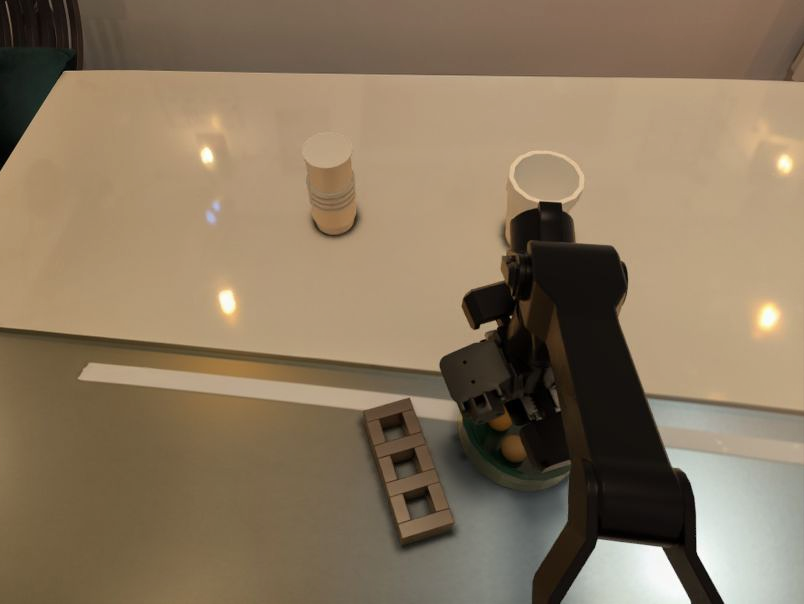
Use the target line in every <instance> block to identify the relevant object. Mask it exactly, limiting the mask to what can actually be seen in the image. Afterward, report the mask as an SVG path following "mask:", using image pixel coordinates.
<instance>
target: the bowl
mask: <svg viewBox="0 0 804 604" xmlns="http://www.w3.org/2000/svg"><path fill="white" fill-rule="evenodd" d="M503 405H504V404H503ZM525 426H526V425H525ZM522 427H524V426H516V425H514V424H513V423H512V425H511V426H510V427H509V428H508V429H507V430H504V431H497V430H495V429H493V428H492V427H491V426H490V425H489V424H488V422H486V423H484V424H480V425H477V424H475V423H474V422H473V420H472V418H471V417H469V418H465V419H463V418H462V415H461V413H460V410H459V412H458V415H457V429H458V430H457V431H458V437H459V440H460V443H461V445H462V447H463V450H464V453H465V455H466V457H467V458H468V459H469V461H470V462H471V463H472V464H473V465H474V467H475V468H476V469H477V470H478V472H480V473H481V474H483V475H484V476H485V477H486V478H487V479H489V480H491V481H492V482H494V483H495V484H497V485H500V486H503V487H506V488H508V489H512V490H513V491H523V492H525V491H526V492H538V491H542V490H545V489H548V488H550V487H554V486H557V485H558V484H559V483H561V482H562V481H563V480H564V479H565V478H567V477H569V473H570V468H571V464H569V465H566V466H563V467H560V468H556V469H553V470H550V471H547V472H544V473H540V472H538V471H536V470H535V469H533V467H532V465H531V463H530V460H529V458H528V456H526V458H525V459H524V460H523V461H521V462H517V463H515V462H511V461H509V460H507V459H506V458H505V457H504V456H503V454H502V452H501V444H502V441H503V440H504V439H505V438H506V437H508V436H510V435H517V436H520V433H519V431H520V429H521V428H522Z"/></svg>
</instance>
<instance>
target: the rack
mask: <svg viewBox="0 0 804 604" xmlns="http://www.w3.org/2000/svg"><path fill="white" fill-rule="evenodd" d="M362 416H363V423H364V428H365V430H366V433H367V437H368V440H369V441H368V442H369V443H370V446H371V450H372V451H371V452H372V453H373V457H374V461H375V463H376V467H377V470H378V473H379V477H380V479H381V483H382V486H383V490H384V493H385V497H386V499H387V502H388V506H389V509H390V513H391V516H392V519H393V522H394V523H393V524H394V526H395V529H396V531H397V535H398V540H399V542H400V545H401V546H405V545H408V544H412V543H414V542H418V541H422V540H424V539H428V538H430V537H435V536H437V535H440V534H443V533H447V532H449V531H452V530H453V527H454V525H455V519H454V516H453V514H452V511H451V508H450V505H449V502H448V500H447V497H446V495H445V491H444V489H443V485H442V483H441V480H440V477H439V475H438V472H437V469H436V467H435V464H434V461H433V458H432V455H431V453H430V449H429V446H428V444H427V441H426V439H425V436H424V433H423V429H422V427H421V424H420V422H419V419H418V417H417V414H416V410H415V408H414V405H413V402H412V400H411V397H406V398H402V399H399V400H396V401H392V402H390V403H389V402H388V403H385V404H382V405H378V406H375V407H372V408H368V409H365V410H363V411H362ZM399 425H401V427H402V430H403V433H404V436H403V437H399V438H396V439H392V440H389V441H387V440H386V437H385V434H384V431H383V430H385V429H388V428H392V427H395V426H399ZM411 459H412V460H413V463H414V466H415V468H416V472H417V473H415V474H412V475H409V476H406V477H402V478H398V475H397V472H396V468H395V466H394V464H397V463H401V462H404V461H407V460H411ZM423 496H425V498H426V501H427V504H428V507H429V510H430V512H431V513H429V514H426V515H423V516H420V517H416V518H413V519H412V518H411V515H410V511H409V509H408V505H407V503H406V502H407V501H409V500H412V499H416V498H420V497H423Z"/></svg>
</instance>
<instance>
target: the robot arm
mask: <svg viewBox="0 0 804 604" xmlns="http://www.w3.org/2000/svg"><path fill="white" fill-rule="evenodd" d="M574 221H575V220H574V218H573V217H572V216H571V214H568V213H566V212H564V211H562V203H561V202H547V201H539V203H538V206H537V208H534V209H530V210H526V211H524V212H522V213H520V214H518V215H517V216H515V217H514V218H513V219H511V221H510V245H509V249H507V250H506V252H505V253H506V254H505V255H501V259H500V260H501V262H500V272H501V274H502V277H503V279H504V280H501V281H496V282H493V283H489V284H486V285H482V286H479V287H475V288H471V289H470V290H468V291H467V292H466V293H465V294H464V296H463V298H462V301H461V309H462V312H463V315H464V316H465V318H466V321H467V323H468V325H469V328H471V329H472V330H473V331H476V330H480V328H481V325H484V324H488V323H492V322H495V323H496V325H497V327H496V329H493V330H492V329H491V330H488V331H485V333H484V339H481V340H479V342H478V341H477V342H473V343H471V344H468V345H466V346H463V347H461V348H459V349H457V350H455V351H452V352H450V353H448V354H445V355H444V356H442V357H441V359H440V360H439V364H438V367H439V370H440V372H441V375H442V377H443V379H444V380H443V381H444V383H445V385H446V388H447V390H448V393H449V396H450V397H451V399H452V401H454V402H455V403H456V406H457V407H458V410H459V411H460V413H461V415H462V418H463V419H465V418H469V417H471V418H472V420H473V422H474V423H475V424H477V425H480V424H484V423H486V422H489V421H491V420H493V419H496V418H498V417H501V416H503V415H504V414H505V410H504V408H503V404H504V405H505V407H506V410H507V412H508V414H509V416H510V419H511V421H512V423H513V424H514V425H516V426H524V427H522V428H521V429H520V431H519V433H520V438H521V442H522V445H523V447H524V449H525V451H526V454H527V456H528V458H529V460H530V463H531V465H532V467H533V469H535V470H536V471H538V472H540V473H544V472H547V471H550V470H553V469H556V468H560V467H563V466H566V465H569V464H571V468H570V473H569V475H568V486H567V521H566V522H565V525H564V526H563V528H562V530H561V531H560V533H559V534H558V536H557V538H556V539H555V541H554V542H553V544H552V546H551V547H550V549H549V550H548V552H547V554H546V555H545V556H544V558H543V559H542V561H541V563H540V565H539V566H538V568H537V569H536V570H535V572H534V575H533V579H532V581H531V604H562V602H563V600H564V599H565V598H566V595H568V592H569V591H570V588H571V587H572V586H573V585H574V582H575V581H576V580H577V578H578V576H579V575H580V573H581V572H582V570H583V568H584V567H585V565H586V563H587V562H588V560H589V558H590V557H591V556H592V554H593V552H594V551H595V549H596V547H597V543H598V540H602V541H610V542H618V543H626V544H633V545H641V546H648V547H649V546H650V547H656V548H657V547H658V548H661V549H662V551H663V553H664V555H665V556H666V558H667V560H668V562H669V564H670V566H671V568H672V570H673V571H674V574H675V575H676V576H677V579H678V580H679V583H680V584H681V587H682V588H683V590H684V591H685V593H686V596H687V597H688V599H689V602H690V604H726V603H725V602H724V600H723V598H722V596H721V595H720V594H721V593H720V592H719V591H718V589H717V587H716V585H715V583H714V581H713V580H712V578H711V576H710V575H709V572H708V571H707V569H706V567H705V565H704V563H703V562H702V560H701V558H700V556H699V555H698V549H697V548H698V546H697V545H698V544H697V543H698V542H697V509H696V498H695V493H694V490H693V487H692V486H693V485H692V484H691V481H690V479H689V477H688V475H687V474H686V472H685V471H683V470H682V469H681V468H680V467H673V466H672V464H671V461H670V458H669V455H668V453H667V450H666V447H665V444H664V441H663V439H662V436H661V433H660V430H659V428H658V425H657V422H656V419H655V417H654V414H653V411H652V408H651V405H650V403H649V400H648V397H647V394H646V392H645V388H644V386H643V383H642V380H641V378H640V375H639V372H638V369H637V366H636V364H635V361H634V359H633V356H632V353H631V350H630V348H629V345H628V343H627V340H626V337H625V334H624V331H623V328H622V326H621V323H620V319H619V317H620V313H621V310H622V307H623V306H624V304H625V302H626V299H627V295H628V289H629V271H628V268H627V265H626V263H625V262H624V261H623V260H621V256H620V254H619V252H618V251H617V249H616V248H615V247H614V246H613V245H611V244H598V243H597V244H596V243H581V242H577V241H576V231H575V222H574ZM525 425H526V426H525Z"/></svg>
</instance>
